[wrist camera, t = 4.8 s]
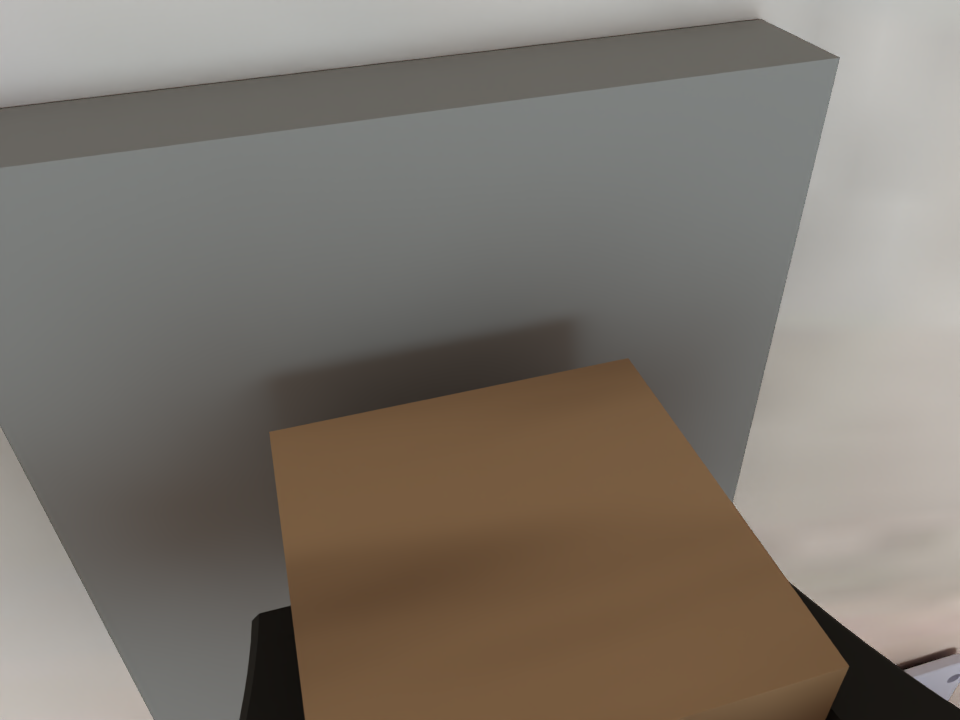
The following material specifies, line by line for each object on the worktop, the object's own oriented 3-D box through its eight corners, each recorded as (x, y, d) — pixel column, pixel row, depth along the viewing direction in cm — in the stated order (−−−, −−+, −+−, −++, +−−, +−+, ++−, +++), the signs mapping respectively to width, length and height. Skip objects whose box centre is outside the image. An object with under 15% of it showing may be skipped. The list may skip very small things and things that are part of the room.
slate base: (671, 526, 20) (711, 591, 19) (166, 655, 18) (165, 741, 16) (761, 19, 13) (840, 57, 11) (-81, 118, 10) (-126, 184, 9)
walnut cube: (604, 579, 15) (754, 878, 11) (324, 653, 14) (380, 1012, 10) (628, 357, 12) (849, 666, 8) (269, 431, 10) (318, 829, 7)
